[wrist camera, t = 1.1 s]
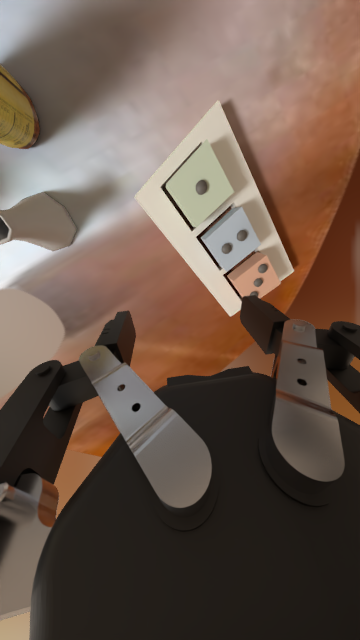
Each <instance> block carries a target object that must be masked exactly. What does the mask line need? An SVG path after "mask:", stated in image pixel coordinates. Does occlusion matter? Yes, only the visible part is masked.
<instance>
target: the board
mask: <svg viewBox="0 0 360 640" xmlns="http://www.w3.org/2000/svg"><path fill="white" fill-rule="evenodd" d="M206 139H207V140H208V142H209V144H210V146H211V148H212V150H213V152H214V154H215V155H216V157H217V159H218V161H219V163H220V165H221V167H222V169H223V171H224V173H225V175H226V177H227V179H228V181H229V183H230V185H231V187H232V189H233V191H234V193H233V194H231V195H230V196H229V197H228V198H227V199H226V200H225V201H224V202H223V203H222V204H221V205H220V206H219V207H218V208H217V209H216V210H214V211H213V212H212V213H211V214H210V215H209V216H208V217H207V218H206V219H205V220H204V221H203V222H202V223H201V224H200V225H199V226H198V227H194V228H193V229H191V230H190V228H189V227H188V225H187V224H186V223H185V221H184V220H183V218H182V217H181V216H180V214H179V213H178V211H177V210H176V209H175V207H174V206H173V204H172V203H171V202H170V200H169V199H168V197H167V196H166V194H165V193H164V192H163V190H162V189H161V188H162V187H163V186H164V184H165V183H166V182H167V181H168V180H169V179H170V178H171V177H172V176H173V175H174V173H175V172H176V171H177V170H178V169H179V168H180V167H181V166H182V165H183V164H184V162H185V161H186V160H187V159H188V158H189V157H190V156H191V155H192V154H193V153H194V151H195V150H196V149H197V148H198V147H200V146H201V145H202V144H203V143H204V141H205V140H206ZM134 198H135V199H136V200H137V202H138V203H139V204H140V205H141V207H142V208H143V209H144V210H145V212H146V213H147V214H148V215H149V217H150V218H151V219H152V220H153V221H154V223H155V224H156V225H157V226H158V228H159V229H160V230H161V231H162V233H163V234H164V235H165V236H166V238H167V239H168V240H169V241H170V243H171V244H172V245H173V246H174V248H175V249H176V250H177V251H178V252H179V254H180V255H181V256H182V257H183V259H184V260H185V261H186V262H187V264H188V265H189V266H190V267H191V269H192V270H193V271H194V272H195V274H196V275H197V276H198V277H199V279H200V280H201V281H202V282H203V283H204V285H205V286H206V287H207V288H208V290H209V291H210V292H211V293H212V295H213V296H214V297H215V298H216V300H217V301H218V302H219V303H220V305H221V306H222V307H223V308H224V310H225V311H226V312H227V313H228V314H229V316H230V317H231V316H232V315H234V314H235V313H237V312H238V311H239V310H241V304H242V297H241V295H240V296H239V297H238V296H237V294H236V293H235V292H234V290H233V289H232V287H231V286H230V285H229V283H228V282H227V280H226V279H225V278H224V276H223V275H224V274H225V273H226V272H227V271H225V270H224V269H223V268H222V267H221V266H218V267H217V266H216V265H215V263H214V262H213V261H212V259H211V258H210V256H209V255H208V254H207V252H206V251H205V249H204V248H203V247H202V245H201V244H200V242H199V241H198V240H197V238H196V237H197V236H198V235H199V234H200V233H201V232H202V231H203V230H204V229H205V228H206V227H208V226H209V225H210V224H211V223H212V222H213V221H214V220H215V219H216V218H217V217H218V216H219V215H220V214H222V213H223V212H224V211H225V210H226V209H227V208H228V207H229V206H231V208H232V209H233V208H236V207H242V208H243V210H244V212H245V214H246V216H247V218H248V220H249V222H250V224H251V226H252V228H253V230H254V232H255V234H256V236H257V238H258V239H259V241H260V243H261V245H260V246H259V247H257V248H256V249H255V252H258V253H261V254H264V255H267V257H268V259H269V261H270V263H271V265H272V267H273V269H274V271H275V273H276V275H277V277H278V279H279V280H280V281H281V280H283V279H284V278H286V277H287V276H288V275H290V274H291V273H293V272H294V270H293V267H292V265H291V263H290V261H289V258H288V256H287V254H286V252H285V249H284V247H283V245H282V242H281V240H280V238H279V236H278V233H277V231H276V229H275V227H274V224H273V222H272V220H271V218H270V215H269V213H268V211H267V209H266V206H265V204H264V202H263V199H262V197H261V195H260V193H259V190H258V188H257V186H256V184H255V181H254V179H253V177H252V175H251V172H250V170H249V168H248V165H247V163H246V161H245V159H244V156H243V154H242V152H241V150H240V147H239V145H238V143H237V141H236V138H235V136H234V134H233V132H232V129H231V127H230V125H229V122H228V120H227V118H226V116H225V113H224V111H223V109H222V107H221V104H220V102H219V100H218V101H217V102H216V103H215V104H214V105H213V106H212V107H211V109H210V110H209V111H208V112H207V113H206V114H205V115H204V117H203V118H202V119H201V120H200V121H199V122H198V124H197V125H196V126H195V127H194V128H193V129H192V130H191V132H190V133H189V134H188V135H187V136H186V137H185V139H184V140H183V141H182V142H181V143H180V144H179V145H178V147H177V148H176V149H175V150H174V151H173V152H172V154H171V155H170V156H169V157H168V158H167V159H166V160H165V162H164V163H163V164H162V165H161V166H160V167H159V169H158V170H157V171H156V172H155V173H154V174H153V175H152V177H151V178H150V179H149V180H148V181H147V182H146V183H145V185H144V186H143V187H142V188H141V189H140V190H139V192H138V193H137V194H136V195H135V196H134Z"/></svg>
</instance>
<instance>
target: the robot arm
mask: <svg viewBox="0 0 360 640" xmlns="http://www.w3.org/2000/svg"><path fill="white" fill-rule="evenodd" d="M240 320H241V323H242V324H243V326H244V327H245V328H246V330H247V331H248V332H249V333H250V335H251V336H252V337H253V339H254V340H255V341H256V342H257V344H258V345H259V346H260V348H261V349H262V350H263V351H264V353H265V354H272V353H274V354H275V358H274V362H273V367H272V373H271V377H270V376H267V375H264V374H259V373H253V372H252V371H251V369H250V368H249V366H246V367H239V368H233V369H228V370H225V371H223V372H220V373H217V374H215V375H212V376H194V375H184V376H178V377H171V378H167V385H165V386H163V387H161V388H159V389H158V390H156V391H155V392H154V393H153V391H152V390H151V389H150V388H149V387H148V386H147V385H146V384H145V383H144V382H143V381H142V380H141V379H140V378H139V377H138V376H137V374H136V373H135V372H134V371H133V370H132V369H131V368H130V363H131V358H132V353H133V348H134V343H135V338H136V333H135V328H134V325H133V321H132V318H131V314H130V312H129V311H123V312H117V314H116V316H115V319H114V320H110V321H109V322H108V323H107V324H106V325H105V327H104V329H103V331H102V333H101V335H100V337H99V338H98V340H97V342H96V344H95V346H94V347H91V348H89V349H87V350H86V351H84V352H83V353H82V354H81V355H80V357H79V361H76V362H73V363H71V364H68V365H65V366H62V364H61V363H60V362H59V361H57V360H51V361H47V362H45V363H42V364H40V365H38V366H37V367H35V368H34V369H33V370H32V371H30V373H29V374H28V375H27V376H26V377H25V379H24V380H23V381H22V383H21V384H20V385H19V387H18V388H17V389H16V390H15V392H14V393H13V394H12V396H11V397H10V398H9V399H8V401H7V402H6V403H5V405H4V406H3V407H2V409H1V410H0V620H3V619H7V618H10V617H13V616H17V615H20V614H23V613H27V612H29V611H30V639H29V640H360V425H358V424H357V423H355V422H353V421H351V420H349V419H347V418H345V417H344V416H342V415H340V414H338V413H336V412H335V411H333V410H332V409H331V404H330V397H329V390H328V383H327V380H328V381H329V382H330V383H331V384H332V385H333V386H334V387H335V388H336V389H337V390H338V391H339V392H340V393H341V394H342V395H343V396H344V397H345V398H346V399H347V400H348V401H349V403H350V404H352V405H353V407H354V408H355V409H356V410H357V411H358V412H359V413H360V373H359V372H358V371H357V370H356V369H355V368H353V367H352V366H351V365H350V363H351V361H352V360H353V358H354V357H357V358H358V359H359V360H360V326H359V325H356V324H353V323H349V322H342V321H340V322H339V321H338V322H334V323H332V324H331V326H330V329H329V330H326V329H315V328H314V326H313V325H312V324H310V323H308V322H306V321H303V320H297V319H289V318H288V317H287V316H285V315H284V314H283V313H282V312H280V311H279V310H278V309H276V308H275V307H274V306H273V305H271V304H270V303H268V302H265V301H262V300H261V299H260V298H258V297H257V296H256V295H249V296H244V297H243V298H242V304H241V312H240ZM96 396H99V397H100V399H101V401H102V402H103V404H104V406H105V407H106V409H107V411H108V413H109V414H110V416H111V418H112V419H113V421H114V423H115V425H116V426H117V428H118V430H119V432H120V434H119V436H118V437H117V438H116V440H115V441H114V442H113V444H112V445H111V446H110V447H109V449H108V450H107V451H106V453H105V454H104V455H103V457H102V458H101V459H100V460H99V462H98V463H97V464H96V466H95V467H94V468H93V470H92V471H91V472H90V474H89V475H88V476H87V477H86V479H85V480H84V481H83V483H82V484H81V485H80V486H79V488H78V489H77V491H76V492H75V493H74V494H73V496H72V497H71V498H70V499H69V501H68V502H67V504H66V505H65V506H64V508H63V509H62V511H61V513H60V514H59V516H58V517H57V519H56V510H57V505H58V500H59V493H58V490H57V488H56V487H55V486H54V482H55V479H56V476H57V474H58V471H59V468H60V465H61V462H62V460H63V457H64V454H65V451H66V448H67V445H68V443H69V440H70V437H71V434H72V431H73V429H74V426H75V423H76V420H77V417H78V414H79V412H80V409H81V406H82V403H83V402H84V401H87V400H89V399H92V398H94V397H96ZM48 406H50V407H49V409H48V411H47V413H46V415H45V417H44V419H43V416H44V413H45V411H46V409H47V407H48Z"/></svg>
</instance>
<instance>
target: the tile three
mask: <svg viewBox="0 0 360 640" xmlns="http://www.w3.org/2000/svg"><path fill="white" fill-rule="evenodd" d="M227 276H228V278H229V279H230V281H231V282H232V284H233V285H234V286H235V288H236V289H237V291H238V292H239V294H240V295H241V297H242V298H243V297H244V296H249V295H256V296H257V297H258V298H261V297H263V296H264V295H265V294H267V293H268V292H270V291H271V290H273V289H274V288H275V287H277V286H278V285H280V284H281V282H280V280H279V279H278V277H277V275H276V273H275V271H274V269H273V267H272V265H271V263H270V261H269V259H268V257H267V255H264V254H261V253H258V252H256V253H255V254H254V255H252V256H251V257H250V258H249V259H247V260H246V261H245V262H244V263H242V264H241V265H240V266H239V267H237V268H236V269H235V270H234V271H232V272H231V273H230V274H229V275H227Z"/></svg>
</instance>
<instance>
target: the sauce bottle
mask: <svg viewBox="0 0 360 640" xmlns="http://www.w3.org/2000/svg"><path fill="white" fill-rule="evenodd" d="M39 132H40V128H39V122H38V118H37V114H36V111H35V109H34V106H33V104H32V101H31V99H30V98H29V96H28V95H27V93H26V92H25V91H24V90H23V89H22V87H21V86H20V85H19V84H18V83H17V82H16V80H15V79H14V78H13V77H12V76H11V75H10V73H9V72H8V71H7V70H6V69H5V68H3V67H2V66H1V65H0V144H3V145H5V146H8V147H12V148H19V149H28V148H30V147H31V146H32V145H33V144H34V143H35V142H36V140H37V138H38V135H39Z"/></svg>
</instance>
